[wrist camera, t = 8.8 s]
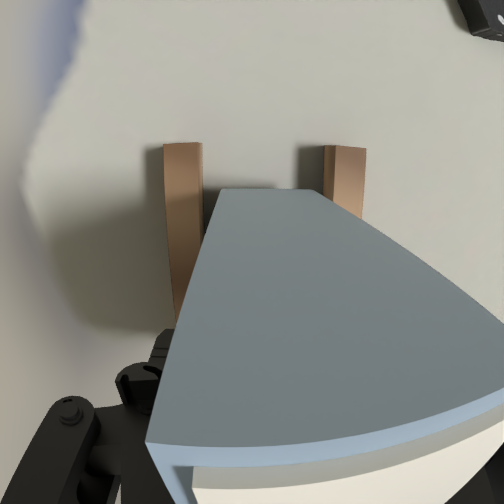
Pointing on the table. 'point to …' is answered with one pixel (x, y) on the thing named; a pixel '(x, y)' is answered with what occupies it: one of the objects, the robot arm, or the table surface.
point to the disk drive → (484, 18)
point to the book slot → (191, 201)
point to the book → (322, 365)
